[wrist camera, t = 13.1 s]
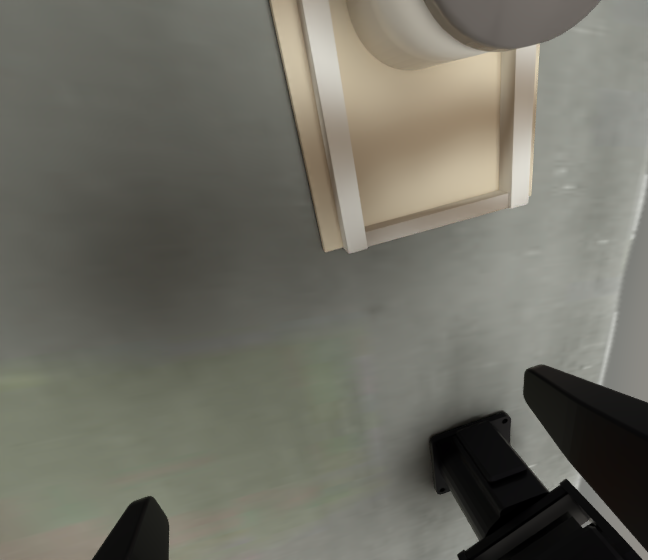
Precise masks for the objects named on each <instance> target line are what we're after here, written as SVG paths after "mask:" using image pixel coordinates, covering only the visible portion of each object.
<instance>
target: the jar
mask: <svg viewBox="0 0 648 560" xmlns="http://www.w3.org/2000/svg"><path fill="white" fill-rule="evenodd" d="M600 1H601V0H346V2H347V8H348V13H349V16H350V19H351V22H352V25H353V27H354V29H355V32H356V34H357V36H358V37H359V39H360V41H361V42H362V44H363V45H364V46H365V48H366V49H367V50H368V51H369V52H370V53H371V54H372V55H373V56H374V57H375V58H376V59H378V60H379V61H380V62H382V63H384V64H386V65H388V66H390V67H393V68H395V69H400V70H412V71H413V70H420V69H424V68H428V67H432V66H436V65H440V64H444V63H448V62H452V61H456V60H460V59H464V58H468V57H472V56H476V55H480V54H484V53H488V52H503V51H511V50H515V49H519V48H523V47H528V46H532V45H536V44H539V43H542V42H546V41H549V40H551V39H553V38H555V37H557V36H559V35H561V34H563V33H564V32H566V31H568V30H569V29H571V28H572V27H574V26H575V25H576V24H577V23H579V22H580V21H581V20H582V19H583V18H585V17H586V16H587V15H588V14H589V13H590V12H591V11H592V10H593V9H594V8H595V7H596V5H597V4H598V3H599V2H600Z"/></svg>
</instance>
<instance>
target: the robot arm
mask: <svg viewBox="0 0 648 560" xmlns="http://www.w3.org/2000/svg"><path fill="white" fill-rule="evenodd" d="M523 395H524V399H525V401H526V403H527V404H528V406H529V407H530V408H531V410H532V411H533V413H534V414H535V415H536V417H537V418H538V420H539V421H540V422H541V424H542V425H543V426H544V428H545V429H546V431H547V432H548V433H549V435H550V436H551V438H552V439H553V440H554V442H555V443H556V444H557V446H558V447H559V449H560V450H561V451H562V453H563V454H564V455H565V457H566V458H567V459H568V461H569V462H570V463H571V464H572V465H573V467H574V468H575V469H576V470H577V471H578V472H579V474H580V475H581V476H582V477H583V478H584V479H585V480H586V482H587V483H588V484H589V485H590V486H591V487H592V488H593V490H594V491H595V492H596V493H597V494H598V495H599V497H600V498H601V499H602V500H603V501H604V502H605V503H606V505H607V506H608V507H609V508H610V509H611V510H612V512H613V513H614V514H615V515H616V516H617V517H618V518H619V519H620V521H621V522H622V523H623V524H624V525H625V526H626V528H627V529H628V530H629V531H630V532H631V533H632V535H633V536H634V537H635V538H636V539H637V540H638V541H639V542H640V544H641V545H642V546H643V547H644V548H645V550H646V551H647V552H648V403H647V402H644V401H642V400H639V399H636V398H634V397H631V396H628V395H625V394H622V393H620V392H617V391H614V390H612V389H609V388H606V387H604V386H601V385H598V384H595V383H593V382H590V381H587V380H584V379H582V378H579V377H576V376H574V375H571V374H568V373H565V372H563V371H560V370H557V369H554V368H552V367H549V366H546V365H537V366H534V367H531V368H528V369H526V371H525V373H524V388H523ZM510 427H511V418H510V416H509V415H508V414H507V413H505V412H503V413H499V414H496V415H494V416H491V417H488V418H485V419H482V420H479V421H476V422H473V423H471V424H468V425H465V426H462V427H459V428H456V429H453V430H450V431H448V432H445V433H442V434H439V435H436V436H434V437H432V438H431V440H430V450H431V460H432V470H433V480H434V488H435V490H436V492H437V494H444V493H446V492H449V491H451V492H452V494H453V496H454V498H455V499H456V501H457V503H458V505H459V506H460V508H461V510H462V512H463V513H464V515H465V517H466V518H467V520H468V522H469V524H470V525H471V527H472V529H473V531H474V532H475V534H476V536H477V538H478V539H479V542H477V543H476V544H475V545H473V546H472V547H470V548H469V549H467V550H466V551H465V550H463V551H461V552H460V553H459V554H457V556H458V558H459V560H642V559H641V558H640V556H639V555H638V554H637V553H636V552H635V551H634V550H633V549H632V547H631V546H630V545H629V544H628V543H627V542H626V541H625V540H624V539H623V538H622V537H621V536H620V535H619V533H618V532H617V531H616V530H615V529H614V528H613V527H612V526H611V525H610V524H609V523H608V522H607V521H606V520H605V519H604V518H603V517H602V516H601V515H600V514H599V512H598V511H597V510H596V509H595V508H594V507H593V506H592V505H591V504H590V503H589V502H588V501H587V500H586V499H585V498H584V497H583V496H582V495H581V493H580V492H579V491H578V490H577V489H576V488H575V487H574V486H573V485H572V484H571V483H570V482H569V481H568V480H567V479H565V480H563V481H562V482H560V485H559V486H558V487H556V488H555V489H554V490H552V491H551V492H549V491H548V490H547V488H546V487H545V486H544V485H543V484H542V482H541V481H540V480H539V479H538V478H537V476H536V475H535V474H534V473H533V472H532V470H531V469H530V468H529V467H528V466H527V464H526V463H525V462H524V461H523V460H522V459H521V457H520V456H519V455H518V454H517V453H516V451H515V450H514V449H513V448H512V447H511V445H510ZM588 520H589V521H590V522H591V524H590V525H587V526H586V527H584V528H582V527H581V525H582V524H584V523H585V522H587V521H588ZM92 560H169V523H168V519H167V516H166V515H165V513H164V512H163V510H162V509H161V507H160V506H159V504H158V503H157V501H156V500H155V499H154V497H152V496H148V497H145V498H142V499H139V500H136V501H133V502H132V503H131V504H130V505H129V506H128V507H127V509H126V510H125V512H124V513H123V515H122V516H121V518H120V519H119V521H118V522H117V524H116V525H115V526H114V528H113V529H112V531H111V532H110V534H109V535H108V537H107V538H106V540H105V541H104V543H103V544H102V546H101V547H100V549H99V550H98V551H97V553H96V554H95V556H94V557H93V559H92Z"/></svg>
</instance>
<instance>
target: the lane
mask: <svg viewBox="0 0 648 560" xmlns="http://www.w3.org/2000/svg"><path fill="white" fill-rule="evenodd" d="M269 3H270V8H271V12H272V17H273V21H274V26H275V31H276V35H277V40H278V44H279V49H280V54H281V58H282V63H283V67H284V72H285V76H286V81H287V86H288V90H289V95H290V99H291V104H292V109H293V113H294V118H295V122H296V127H297V131H298V136H299V141H300V145H301V150H302V154H303V159H304V163H305V168H306V173H307V177H308V182H309V186H310V191H311V196H312V200H313V205H314V209H315V214H316V218H317V223H318V228H319V232H320V237H321V241H322V246H323V250H324V251H325V252H329V251H332V250H336V249H340V248H343V247H344V249H345V250H346V251H347V252H348V253H349V254H350V253H354V252H357V251H361V250H365V249H368V247H369V246H373V245H377V244H380V243H384V242H387V241H391V240H394V239H398V238H402V237H405V236H409V235H412V234H416V233H420V232H423V231H427V230H430V229H434V228H438V227H441V226H445V225H448V224H452V223H455V222H459V221H463V220H466V219H470V218H473V217H477V216H481V215H484V214H488V213H491V212H495V211H499V210H502V209H506V208H515V207H518V206H522V205H526V204H528V196H531V190H532V172H533V155H534V137H535V119H536V102H537V84H538V66H539V49H540V43H539V44H536V45H532V46H528V47H523V48H519V49H515V50H511V51H503V52H488V53H484V54H480V55H476V56H472V57H468V58H464V59H460V60H456V61H452V62H448V63H444V64H440V65H436V66H432V67H428V68H424V69H420V70H413V71H412V70H400V69H395V68H393V67H390V66H388V65H386V64H384V63H382V62H380V61H379V60H378V59H376V58H375V57H374V56H373V55H372V54H371V53H370V52H369V51H368V50H367V49H366V48H365V46H364V45H363V44H362V42H361V41H360V39H359V37H358V36H357V34H356V32H355V29H354V27H353V25H352V22H351V19H350V16H349V13H348V8H347V2H346V0H269Z"/></svg>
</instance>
